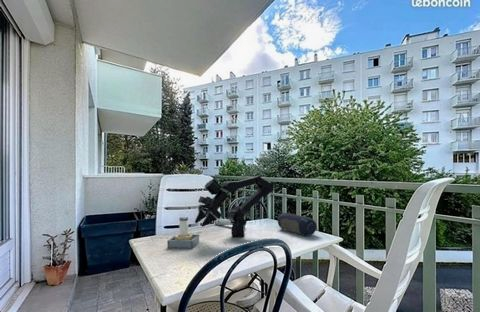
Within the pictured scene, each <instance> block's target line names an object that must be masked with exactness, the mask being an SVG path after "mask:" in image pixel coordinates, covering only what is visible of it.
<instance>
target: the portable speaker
mask: <svg viewBox="0 0 480 312" xmlns="http://www.w3.org/2000/svg"><path fill="white" fill-rule="evenodd" d="M277 224H278V227H279V228H280V229H282V230H284V231H288V232H292V233H294V234H299V235H303V236H306V237H307V236H309V237H310V236H312V235H314V234H315V233H316V230H317V223H316V221H315V220H314V219H313V218H311V217H309V216H304V215H299V214H295V213H288V212H283V213H281V214H279V216H278V217H277Z"/></svg>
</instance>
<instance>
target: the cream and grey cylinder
mask: <svg viewBox="0 0 480 312" xmlns="http://www.w3.org/2000/svg"><path fill="white" fill-rule="evenodd" d="M178 220H179V234H180V237H187V236H188V233H189V217H188V216H181V217H179V219H178Z"/></svg>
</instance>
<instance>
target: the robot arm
mask: <svg viewBox="0 0 480 312" xmlns="http://www.w3.org/2000/svg"><path fill="white" fill-rule="evenodd" d="M252 185H256V187H257V190H256V191H255V192H254V193H253V194H252V195H251V196H249V198H247V199H246V200H245V201H244V203H242V204H241V205H240V206H237V205H235V206H233V208H232V209H230V210H229V212H228V214H227V219H229V220H230V221H231V223H232V224H233V225H231V227H230V228H231V231H230V232H231V237H233V238H244V237H245V235H246V233H245V229H244V225H245V226H246V225H247V220H246V219H245V216H246V213H247V212H248V211H250V209H251V208H253V206H255V205H256V204H257V203H258V202H259V201H261V199H262V198H264V197H265V196H268V195H270V194H272V193H273V192H274V190H275V187H274V184H273V183H272V182H269V181H268V180H266V179H264V178H262V177H261V176H259V175H258V176H257V175H256V176H253V177H248V178H245V179H240V180H236V181H233V180H231V181H223V183H222V184H220V183H219V182H218V181H217V180H216V179H215V178H212V179H211V180H209V181H208V182H206V184H205V185H204V189H205V190H206V191H207V192H208V193H209V194H211V196H213V195H214V196H213V197H210V196H202V195H200V196H199V199H198V203H200V204H199V205H198V206H197V210H198V214H197V216H196V218H195V220H194V223H195V224H198V223H199V222H201V221H202V220H203V219H204V220H203V221H202V223H201V227H205V226H207V225H209V224H211V223H213V222H215V220H217V219H220V218H221V219H222V213H221V212H220V211H219V209H220V208H222V207H223V204H224V202H225V201H226V200H229V201H231V200H232V199H231V194H230V193H234V192H235V193H236V192H237V191H238V190H240V189H242V188H245V187H248V186H252ZM228 193H229V194H228Z"/></svg>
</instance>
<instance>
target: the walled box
mask: <svg viewBox="0 0 480 312" xmlns="http://www.w3.org/2000/svg"><path fill="white" fill-rule="evenodd" d="M199 242H200V234H197V233H196V234H194V233H193V234H192V233H189V232H188V236H187V237H180V233H177V234H174V235H173V236H171V238H169V239H168V240H167V248H166V249H186V250H188V249H192V250H193V249H194V248H195V246H196V245H197V244H199Z"/></svg>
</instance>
